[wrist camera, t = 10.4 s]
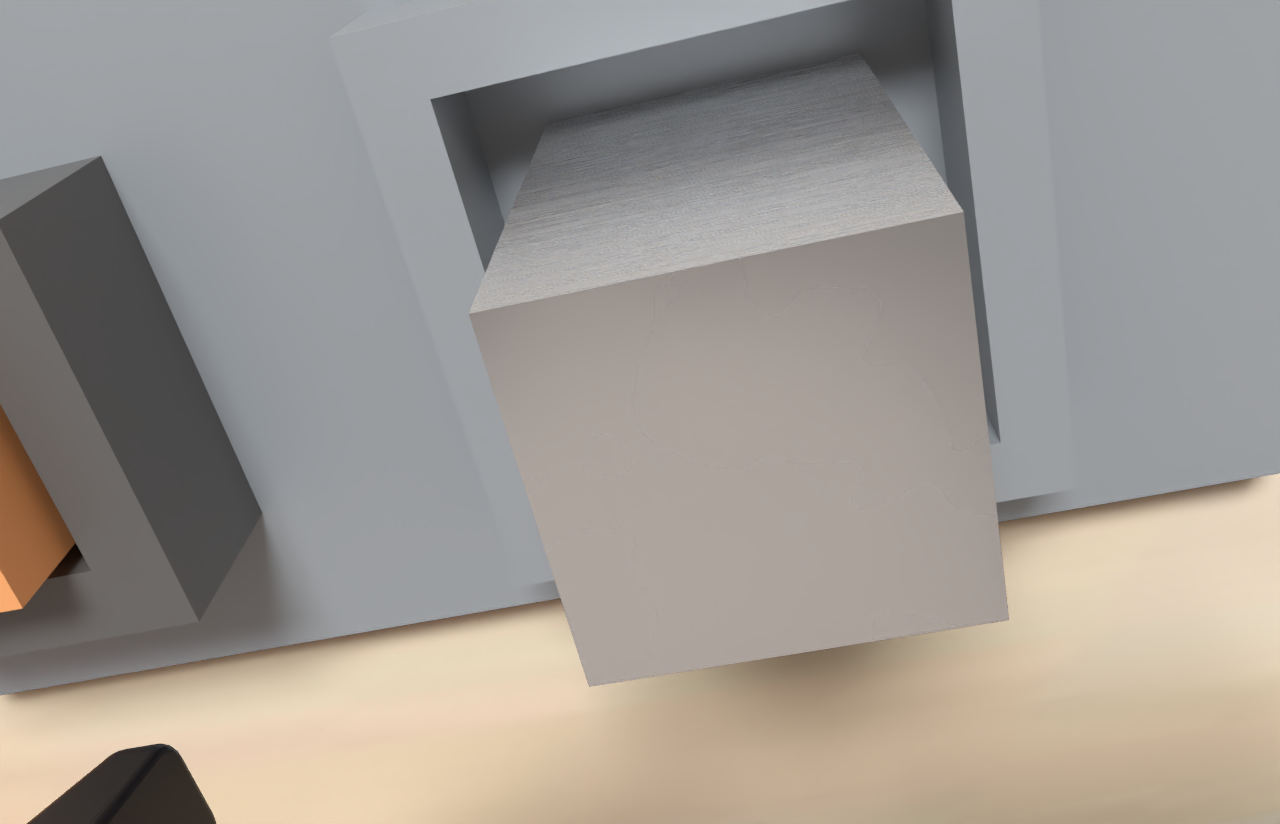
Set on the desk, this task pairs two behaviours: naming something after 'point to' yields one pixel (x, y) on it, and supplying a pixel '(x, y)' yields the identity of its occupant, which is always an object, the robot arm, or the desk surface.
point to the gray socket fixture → (467, 237)
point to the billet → (745, 376)
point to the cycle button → (25, 524)
